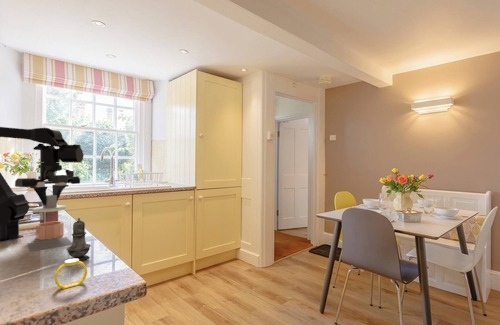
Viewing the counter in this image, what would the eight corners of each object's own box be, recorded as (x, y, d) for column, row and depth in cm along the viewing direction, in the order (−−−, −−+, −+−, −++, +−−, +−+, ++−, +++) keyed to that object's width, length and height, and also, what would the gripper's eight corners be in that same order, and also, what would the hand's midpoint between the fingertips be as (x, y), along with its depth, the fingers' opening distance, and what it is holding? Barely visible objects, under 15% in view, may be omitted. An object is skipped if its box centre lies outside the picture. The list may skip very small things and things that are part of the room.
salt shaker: (78, 264, 72) (78, 220, 72) (61, 262, 73) (61, 219, 73) (95, 256, 78) (95, 216, 78) (78, 255, 79) (78, 215, 79)
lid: (26, 210, 95) (26, 196, 95) (57, 206, 103) (57, 193, 103) (41, 213, 90) (41, 198, 90) (72, 208, 99) (72, 194, 99)
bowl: (31, 238, 95) (31, 224, 95) (56, 233, 102) (56, 220, 102) (43, 241, 92) (43, 227, 92) (68, 235, 99) (68, 222, 99)
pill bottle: (61, 226, 114) (61, 200, 114) (53, 229, 108) (53, 202, 108) (44, 226, 112) (44, 201, 112) (36, 230, 106) (36, 203, 106)
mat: (27, 244, 88) (27, 243, 88) (66, 238, 96) (66, 237, 96) (30, 253, 80) (30, 251, 80) (72, 245, 88) (72, 243, 88)
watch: (85, 281, 62) (87, 256, 62) (86, 286, 60) (89, 259, 60) (53, 287, 58) (56, 260, 59) (54, 292, 56) (56, 264, 56)
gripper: (30, 162, 85) (30, 210, 85) (88, 162, 101) (88, 202, 101) (14, 162, 90) (14, 207, 90) (72, 162, 106) (71, 200, 106)
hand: (49, 204), depth 97 cm, fingers closed on lid, 3 cm apart
